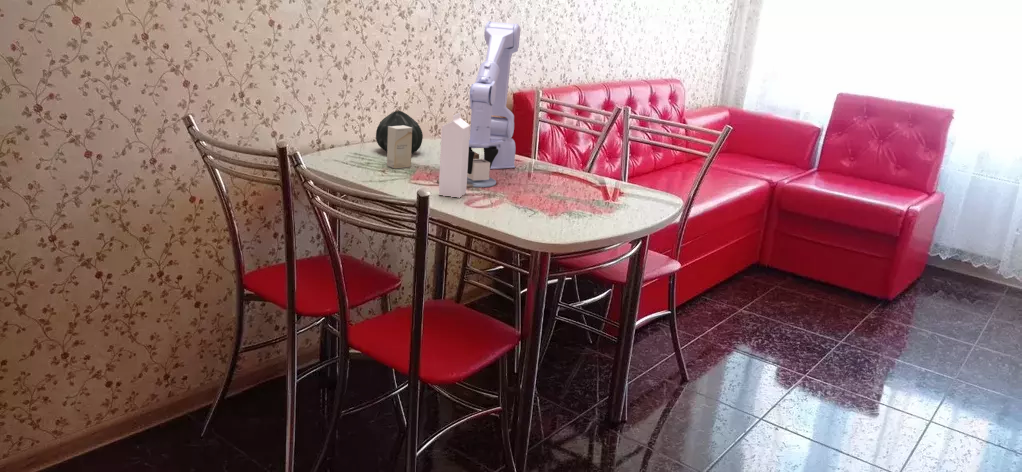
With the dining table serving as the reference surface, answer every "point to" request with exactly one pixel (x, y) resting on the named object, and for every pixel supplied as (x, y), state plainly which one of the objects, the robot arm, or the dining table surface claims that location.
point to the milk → (454, 157)
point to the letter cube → (480, 170)
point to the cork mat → (467, 184)
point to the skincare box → (399, 146)
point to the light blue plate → (482, 182)
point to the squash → (398, 120)
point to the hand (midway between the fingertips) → (477, 172)
